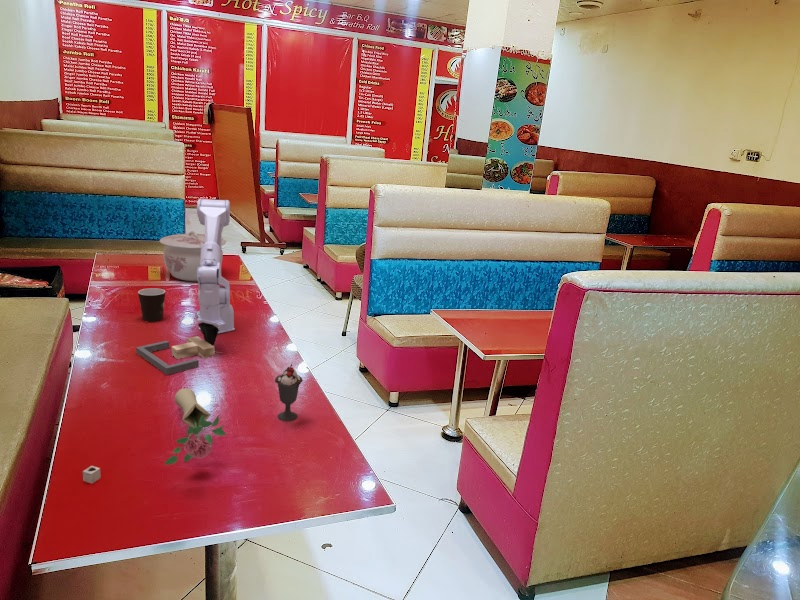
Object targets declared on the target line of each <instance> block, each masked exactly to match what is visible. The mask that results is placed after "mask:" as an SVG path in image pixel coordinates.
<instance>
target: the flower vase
mask: <svg viewBox="0 0 800 600" xmlns="http://www.w3.org/2000/svg"><path fill="white" fill-rule="evenodd" d="M196 397H197V396H196V394H195V391H194V390H193V389H190V388H188V387H187V388H186V387H185V388H181V389H179V390H177V392H176V393H175V395H174V402H175V403H176V405H177V406H178V407H179V408H180V409H181V410H182V411H183V414H182V415H183V416H182V419H181V421H182V422H183V423H185V424H187V425H188V428H187V431H186V436H187V435H188V437H186V436H185V437H181V438H180V437H179V438H178V439H176V440H175V441H174V442H176V443H177V444H179V445H183V446H181V447H180V446H177V447H175V448H174V449H173V450H172V453H173V454H174V455H172V456H170V457H168V459H166V461H165V462H164V465H168V466H169V465H173V464H176V463H178V457H179V455H180V454H181V452H182V450H184V451H185V452H186V454H185V455H184V459H183V461H184V462H183V464H184V463H186V462H188V461H190V460H191V459H200V460H201V459H203V458H205V457H207V456H210V453H211V452H213V451H212V448H213V438H212V434H209V433H207V430H208V429H210V430H208V432H212V433H213V434H214V435H215V436H216V435H217V436H225V435H227V433H226V432H225V431H224V429H223V428H224V427H225V425H222V426H219V427H217V426H218V425H219V422H220V417H219V415H217V416H216V418H215V419H213V420H214V421H213V422H211V421H209V420H208V419H209V418H210V417H211V415H212V414H211V413H210V412H209V411H207V409H205V408H204V407H203V406H201V404H199V403H198V400H197V398H196ZM211 427H215V429H213V428H211ZM203 431H204V432H205V433H206V434H205V435H204V437H203V439H200V435H199V433H201V432H203ZM193 434H194V437H192V438H190V437H191V436H192V435H193ZM196 435H197V437H196ZM175 454H178V455H175Z"/></svg>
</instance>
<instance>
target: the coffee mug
mask: <svg viewBox="0 0 800 600" xmlns="http://www.w3.org/2000/svg"><path fill="white" fill-rule="evenodd" d="M137 294H138V299H139V305H140V309H141V314H142V315H141V316H142V320H144V321H143V322H145V321H148V322H147V323H157V321H159V322H161V321H162V319H163V320H164V311H165V299H166V290H165V289H163V288H156V287H155V288H153V287H151V288H143V289H140V290H138V291H137Z"/></svg>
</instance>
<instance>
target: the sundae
mask: <svg viewBox="0 0 800 600" xmlns="http://www.w3.org/2000/svg"><path fill="white" fill-rule="evenodd" d="M303 381H304V380H303V378H302V377H301V376H300V375H299V374H298V372H297V371H296V370H295V369H294V367H293V364H292V363H290V366H287V368H286V369H285V370H283V373H282V374H279V375H277V376H276V377H275V379H274V383H276V385H277V387H278V397H279V401H280V402H281V403H282V404H284V407H285V408H284V411H282V412H280V413H278V414H277V419H278V420H280V421H282V422H292V421H295V420H297V419H298V418H299V416H298V414H297V413H296V412H294V411H291V405H292V404H293V403H295V402H296V401H297V398H298V395H299V394H298V393H299V387H300V385H301V383H302V382H303Z"/></svg>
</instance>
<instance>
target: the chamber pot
mask: <svg viewBox="0 0 800 600" xmlns="http://www.w3.org/2000/svg"><path fill="white" fill-rule="evenodd" d="M159 243H160V244H162V245H164V246H165V247H164V249H163V252H162V255H163V261H164V264H165V267H166V268H167V270H168V271H169V273H170V274H171V276H172V277H173V278H174V279H177V280H179V281H185V282H198V280H197V269H198V267H200V254H201V246H202V245H203V244H204V243H205V233H204V234H202V233H196V232H195V231H190V232H188V233H177V234H173V235H172V234H171V235H167V236H163V237H161V238H160V239H159ZM226 243H227V240H226V239H225V238H222V245H221V247H222V246H224V245H225V244H226ZM223 253H224V252H223V250H222V249H221V264H222V262H223V260H224V259H223V257H224V256H223V255H224V254H223Z"/></svg>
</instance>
